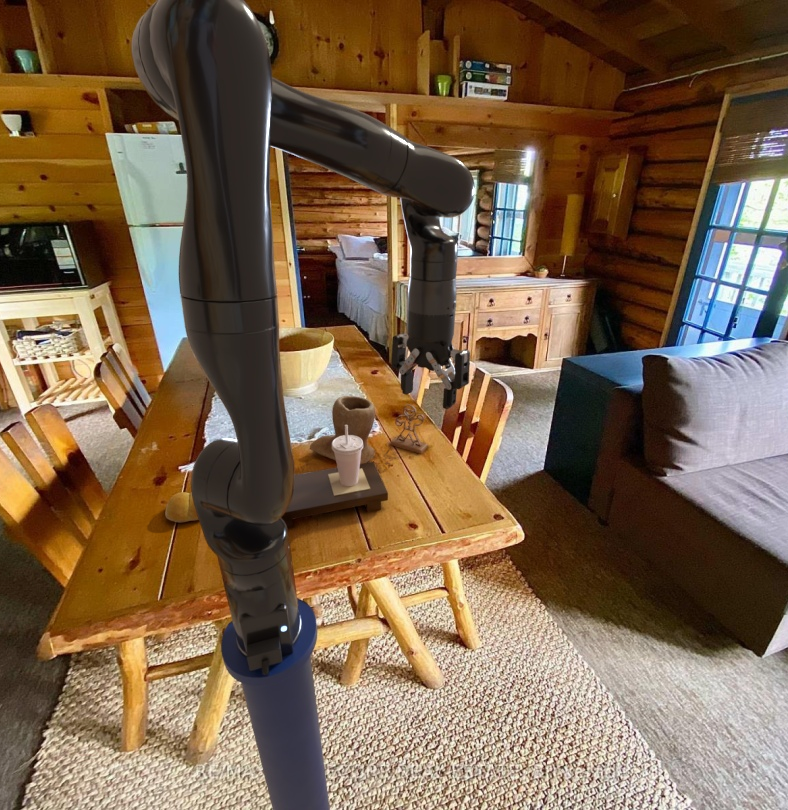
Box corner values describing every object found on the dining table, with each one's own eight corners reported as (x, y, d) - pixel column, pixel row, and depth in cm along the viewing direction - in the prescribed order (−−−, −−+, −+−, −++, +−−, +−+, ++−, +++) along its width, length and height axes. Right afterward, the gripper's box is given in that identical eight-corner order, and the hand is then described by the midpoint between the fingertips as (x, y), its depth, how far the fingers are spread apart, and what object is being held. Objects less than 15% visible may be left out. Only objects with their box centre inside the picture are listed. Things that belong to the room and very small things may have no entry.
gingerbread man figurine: (390, 444, 115) (390, 403, 110) (397, 438, 118) (398, 398, 113) (420, 454, 112) (422, 412, 106) (427, 446, 115) (429, 406, 109)
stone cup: (385, 451, 112) (385, 399, 105) (356, 474, 103) (354, 418, 96) (339, 434, 119) (336, 384, 112) (308, 455, 110) (303, 401, 103)
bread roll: (214, 519, 89) (211, 503, 87) (165, 528, 86) (160, 512, 84) (216, 494, 95) (213, 479, 94) (171, 501, 93) (166, 486, 91)
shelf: (388, 507, 93) (388, 492, 91) (269, 531, 86) (266, 515, 84) (373, 475, 103) (373, 460, 101) (266, 494, 96) (264, 478, 94)
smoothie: (332, 490, 91) (327, 431, 85) (336, 472, 97) (332, 416, 90) (363, 490, 91) (361, 432, 85) (365, 472, 97) (363, 416, 90)
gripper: (381, 303, 69) (381, 395, 77) (457, 320, 62) (450, 421, 69) (409, 295, 75) (407, 382, 82) (483, 310, 67) (474, 404, 75)
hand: (427, 400), depth 76 cm, fingers open, 8 cm apart
